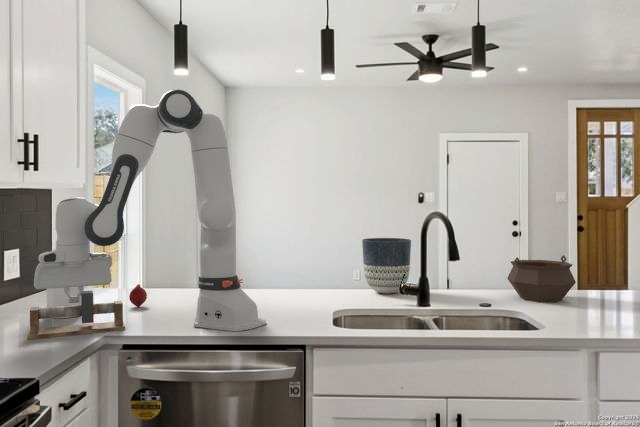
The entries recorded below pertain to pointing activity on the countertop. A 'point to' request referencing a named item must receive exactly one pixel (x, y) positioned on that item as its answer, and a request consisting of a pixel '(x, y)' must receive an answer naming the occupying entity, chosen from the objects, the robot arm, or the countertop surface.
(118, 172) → the robot arm
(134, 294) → the onion
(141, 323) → the countertop surface
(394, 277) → the planter
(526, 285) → the brown cauldron
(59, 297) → the cup
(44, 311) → the pipe rack
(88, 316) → the collar
